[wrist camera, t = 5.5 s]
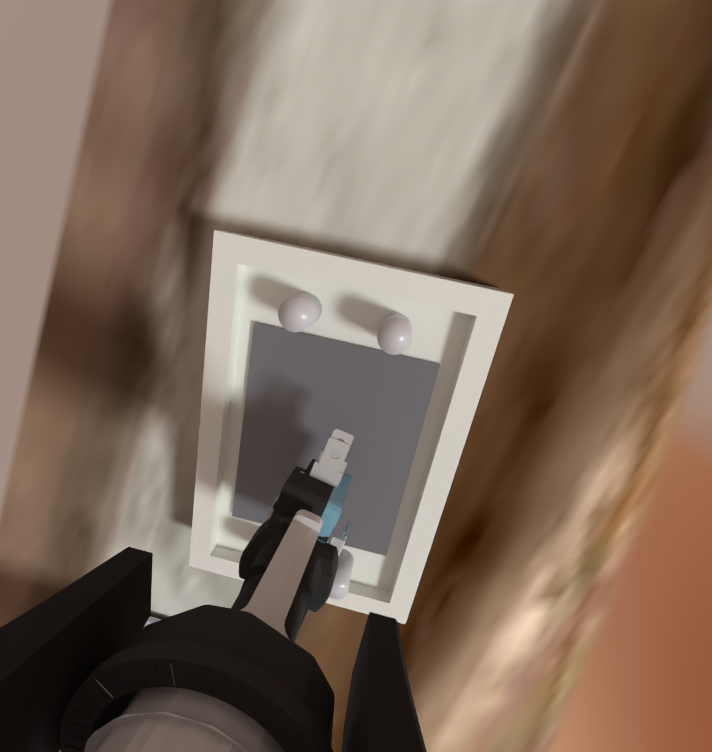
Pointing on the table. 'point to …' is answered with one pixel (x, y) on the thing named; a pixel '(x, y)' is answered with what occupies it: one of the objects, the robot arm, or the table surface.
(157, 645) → the push button
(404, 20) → the table surface
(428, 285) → the pin tray
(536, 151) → the table surface
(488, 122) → the table surface
